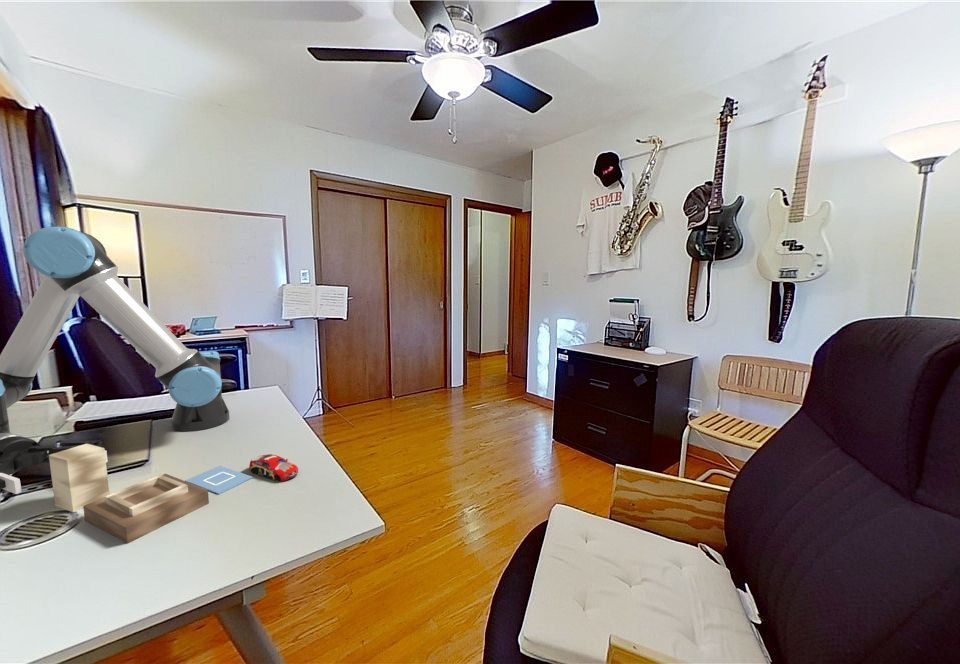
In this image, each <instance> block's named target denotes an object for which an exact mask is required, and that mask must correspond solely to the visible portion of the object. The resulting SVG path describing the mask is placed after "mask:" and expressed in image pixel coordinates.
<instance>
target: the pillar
mask: <svg viewBox="0 0 960 664" xmlns="http://www.w3.org/2000/svg"><path fill="white" fill-rule="evenodd" d="M48 458H49V461H50V462H49V467H50V475H51V482H52V490H53V491H52V492H53V499H54V506H55V507H57V508H59V509H63V510H66V511H69V512H71V513H75V512H78V511H80V510H82V509H83V506H84V505H86V504H89V503H92V502H94V501H97V500H99V499H102V498H104V497H105V496H107V495H110V487H109V479H108V478H109V477H108V469H107V462H106V458H105V447H103V446H102V447H98V446H94V445H90V444H83V445H80V446H77V447H74V448H70V449H67V450H64V451H60V452H57V453H54V454H51V455H49V456H48ZM83 510H84V509H83Z"/></svg>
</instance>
